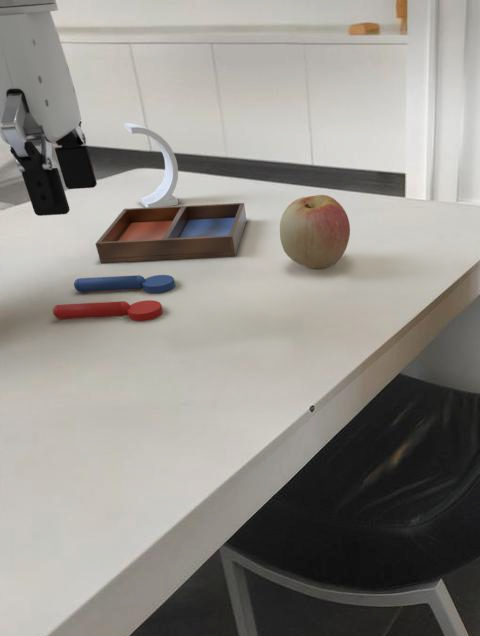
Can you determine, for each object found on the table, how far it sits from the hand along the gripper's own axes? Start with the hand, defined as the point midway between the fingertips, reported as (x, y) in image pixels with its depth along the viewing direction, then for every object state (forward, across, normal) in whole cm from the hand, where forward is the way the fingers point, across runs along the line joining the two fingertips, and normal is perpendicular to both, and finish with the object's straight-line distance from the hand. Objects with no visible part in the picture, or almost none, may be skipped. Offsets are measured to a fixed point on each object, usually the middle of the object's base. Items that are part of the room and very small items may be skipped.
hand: (68, 200), depth 69 cm
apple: (+13, -13, +24) cm, 30 cm away
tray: (+12, -26, +4) cm, 29 cm away
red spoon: (+13, 0, +1) cm, 13 cm away
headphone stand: (+13, -46, -2) cm, 48 cm away
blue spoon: (+13, -8, +1) cm, 15 cm away
